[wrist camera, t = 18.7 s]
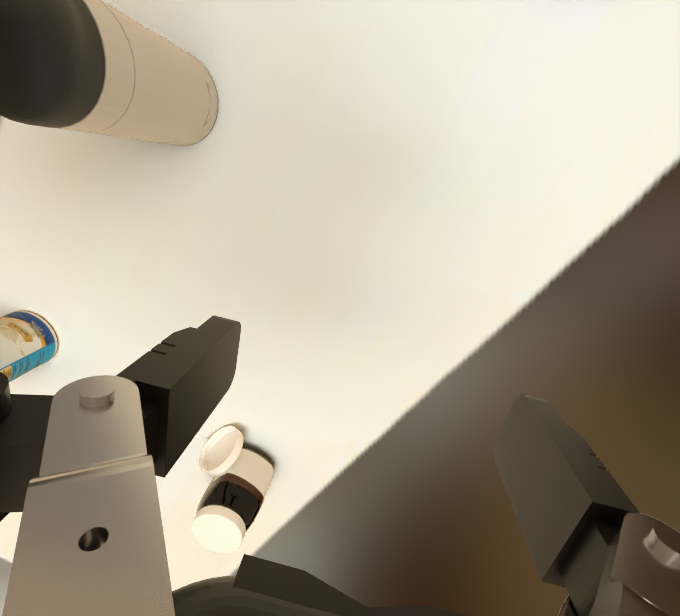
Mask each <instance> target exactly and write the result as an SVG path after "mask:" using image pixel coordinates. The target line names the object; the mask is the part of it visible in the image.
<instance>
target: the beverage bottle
mask: <svg viewBox="0 0 680 616" xmlns="http://www.w3.org/2000/svg"><path fill="white" fill-rule="evenodd" d="M57 346H58V343H57V338H56V335H55V333H54V331H53V329H52V328H51V326H50V325H49V324H48V323H47V322H46V321H45V320H44V319H42V318H41V317H39V316H38V315H36V314H33V313H31V312H26V311H17V312H13V313H10V314H8V315H5V316H3V317H1V318H0V372H2V373H4V374H5V375H6V376H7V378H8V381H9V382H10V381H12V380H14V379H16V378H17V377H19V376H21V375H23V374H24V373H26V372H28V371H30V370H32V369H33V368H35V367H37V366H39V365H41V364H43V363H45V362H47V361H49V360H50V359H51V358H52V357H53V356H54V355H55V353H56V351H57Z"/></svg>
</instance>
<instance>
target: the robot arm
mask: <svg viewBox="0 0 680 616" xmlns="http://www.w3.org/2000/svg"><path fill="white" fill-rule="evenodd" d="M217 111H218V97H217V92H216V88H215V85H214V82H213V80H212V78H211V76H210V74H209V72H208V71H207V69H206V68H205V67H204V66H203V65H202V63H201V62H200V61H198V60H197V59H196V58H194V57H193V56H192V55H190V54H189V53H187V52H185V51H184V50H182V49H180V48H179V47H177V46H175V45H174V44H172V43H171V42H169V41H168V40H166V39H164V38H163V37H161V36H159V35H158V34H156V33H154V32H153V31H151V30H149V29H148V28H146V27H145V26H143V25H141V24H140V23H138V22H136V21H135V20H133V19H131V18H130V17H128V16H126V15H125V14H123V13H121V12H120V11H118V10H117V9H115V8H113V7H112V6H110V5H108V4H107V3H105V2H103V1H102V0H0V115H1V116H3V117H5V118H8V119H10V120H13V121H16V122H20V123H24V124H29V125H36V126H43V127H52V128H60V129H67V130H74V131H82V132H90V133H97V134H104V135H111V136H118V137H125V138H132V139H139V140H146V141H153V142H159V143H167V144H174V145H190V144H194V143H196V142H198V141H200V140H202V139H203V138H204V137H205V136H206V135H207V134H208V133H209V132H210V130H211V129H212V127H213V125H214V122H215V120H216V116H217ZM240 333H241V324H240V322H238V321H234V320H230V319H226V318H222V317H218V316H212V317H211V318H209V319H208V320H207V321H206V322H205V323H203V324H202V325H201V326H200V327H198V328H197V329H196V328H192V327H189V328H186V329H183V330H180V331H177V332H174V333H172V334H171V335H170V336H168V337H167V338H166V339H164V340H163V341H162V342H161V344H158V345H156V346H155V347H154V348H152V349H151V352H150V351H148V352H147V353H146V354H144V355H143V356H142V357H140V358H139V359H138V360H136V361H135V362H134V363H132V364H131V365H130V366H128V367H127V368H126V369H124V370H123V371H122V372H120V373H119V374H118V375H116V376H107V375H104V376H93V377H88V378H83V379H80V380H77V381H74V382H72V383H70V384H68V385H66V386H64V387H63V388H62V389H60V390H59V391H58V392H57V393H56V394H55V396H50V395H22V394H10V389H9V381H8V378H7V376H6V375H5V374H4V373H2V372H0V521H1V520H2V519H3V518H4V517H6V516H7V515H8V514H9V513H10V512H23V513H22V518H21V523H20V528H19V533H18V538H17V543H16V549H15V554H14V559H13V564H12V569H11V574H10V580H9V585H8V589H7V595H6V600H5V605H4V610H3V615H2V616H468V615H464V614H460V613H456V612H453V611H449V610H446V609H442V608H438V607H435V606H408V607H407V606H405V607H368V606H364V605H362V604H360V603H359V602H357V601H355V600H353V599H352V598H350V597H348V596H347V595H345V594H343V593H342V592H340V591H338V590H337V589H335V588H333V587H331V586H330V585H328V584H326V583H325V582H323V581H321V580H320V579H318V578H316V577H314V576H313V575H311V574H309V573H308V572H306V571H303V570H300V569H297V568H293V567H289V566H286V565H282V564H278V563H275V562H271V561H267V560H264V559H260V558H257V557H253V556H249V555H246V554H244V556H243V559H242V561H241V564H240V567H239V569H238V572H237V575H236V576H223V577H217V578H210V579H206V580H202V581H199V582H195V583H192V584H189V585H187V586H184V587H182V588H179V589H177V590H175V591H172V590H171V583H170V576H169V569H168V562H167V555H166V548H165V541H164V534H163V527H162V520H161V513H160V506H159V499H158V492H157V485H156V478H155V475H157V476H161V477H164V478H165V476H166V475H167V473H168V472H169V471H170V469H171V468H172V467H173V465H174V464H175V462H176V461H177V460H178V458H179V457H180V456H181V454H182V453H183V451H184V450H185V449H186V447H187V446H188V445H189V443H190V442H191V440H192V439H193V438H194V436H195V435H196V434H197V432H198V431H199V429H200V428H201V427H202V425H203V424H204V423H205V421H206V420H207V418H208V417H209V416H210V414H211V413H212V412H213V410H214V409H215V407H216V406H217V405H218V403H219V402H220V401H221V399H222V398H223V396H224V395H225V394H226V392H227V391H228V389H229V388H230V385H231V383H232V381H233V378H234V374H235V370H236V362H237V355H238V348H239V340H240ZM494 458H495V462H496V465H497V467H498V470H499V472H500V475H501V478H502V480H503V483H504V486H505V488H506V491H507V493H508V496H509V499H510V501H511V504H512V506H513V509H514V512H515V514H516V517H517V519H518V522H519V525H520V528H521V530H522V533H523V535H524V538H525V540H526V543H527V546H528V548H529V551H530V554H531V556H532V559H533V562H534V564H535V567H536V569H537V572H538V575H539V577H540V580H541V581H543V582H547V583H551V584H555V585H558V586H562V587H566V588H567V591H568V593H569V596H568V597H567V598H566V600H565V601H564V603H563V604H562V606H561V610H560V612H559V615H558V616H680V533H679V532H678V531H676V530H675V529H673V528H672V527H670V526H669V525H667V524H665V523H663V522H662V521H660V520H658V519H656V518H653V517H651V516H648V515H645V514H642V513H640V512H639V511H638V510H637V508H636V507H635V506H634V504H633V503H632V502H631V501H630V499H629V498H628V496H627V495H626V494H625V493H624V491H623V490H622V488H621V487H620V486H619V485H618V483H617V482H616V480H615V479H614V478H613V477H612V475H611V474H610V473H609V471H606V467H605V466H604V465H603V463H602V462H601V461H600V459H599V458H597V457H596V454H595V452H594V451H593V450H592V449H591V447H590V446H589V445H588V443H587V442H586V441H585V439H584V438H582V437H581V436H580V435H579V434H578V433H577V432H576V431H574V430H573V429H572V428H571V427H570V426H569V425H567V423H566V422H565V420H564V419H563V418H562V417H561V415H560V414H559V412H558V411H557V409H556V408H555V407H554V405H553V404H552V403H551V402H549V401H545V400H542V399H538V398H534V397H530V396H526V395H519V396H517V397H516V399H515V400H514V402H513V404H512V406H511V408H510V410H509V413H508V415H507V417H506V419H505V421H504V423H503V425H502V427H501V429H500V431H499V433H498V436H497V438H496V441H495V445H494Z"/></svg>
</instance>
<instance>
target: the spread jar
mask: <svg viewBox="0 0 680 616" xmlns="http://www.w3.org/2000/svg"><path fill="white" fill-rule="evenodd" d="M242 446H243V435H242V433H241V432H240V431H239V430H238V429H236V428H235V427H234V426H225V427H223V428H221V429H219V430H218V431H217V432H215V433H214V434H213V435H212V436H211V437H210V439H209V440H208V441H207V443H206V444H205V446H204V448H203V450H202V452H201V455H200V460H199V464H200V468H201V469H202V470H203V471H205V472H206V473H208V474H210V475H213V476H214V477H213V479H212V481H211V483H210V484H209V486H208V488H207V490H206V491H205V493H204V495H203V497H202V499H201V501H200V503H199V505H198V508H197V513H196V516H195V518H194V520H193V522H192V524H191V533H192V536H193V537H194V539H195V540H196V542H197V543H199V544H200V545H201V546H202V547H204V548H205V549H207V550H210V551H213V552H217V553H229V552H233V551H235V550H236V549H238V548H239V547H240V545H241V543H242V541H243V538H244V535H245V532H246V531H247V530H248V529H249V527H250V526H251V525H252V523H253V522H254V520H255V518H256V516H257V514H258V512H259V510H260V508H261V506H262V504H263V501H264V499H265V496H266V494H267V491H268V488H269V486H270V483H271V480H272V477H273V473H274V469H273V466H272V464H271V463H270V462H269V460H268V459H267V458H266V457H264V456H263V455H262V454H260V453H259V452H257V451H255V450H253V449H250V448H246V447H242Z"/></svg>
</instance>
